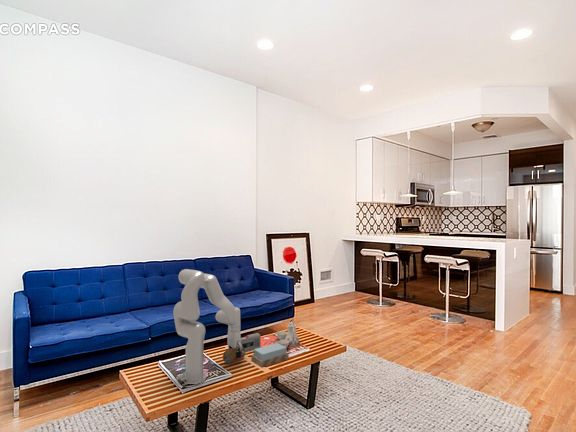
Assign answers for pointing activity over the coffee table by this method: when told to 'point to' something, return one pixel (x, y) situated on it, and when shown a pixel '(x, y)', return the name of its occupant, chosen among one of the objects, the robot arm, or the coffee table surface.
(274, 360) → the tower base
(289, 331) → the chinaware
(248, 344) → the cassette player
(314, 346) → the coffee table surface
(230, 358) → the brown rounded slab
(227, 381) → the coffee table surface
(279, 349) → the blue-grey rectangular block
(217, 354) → the coffee table surface
